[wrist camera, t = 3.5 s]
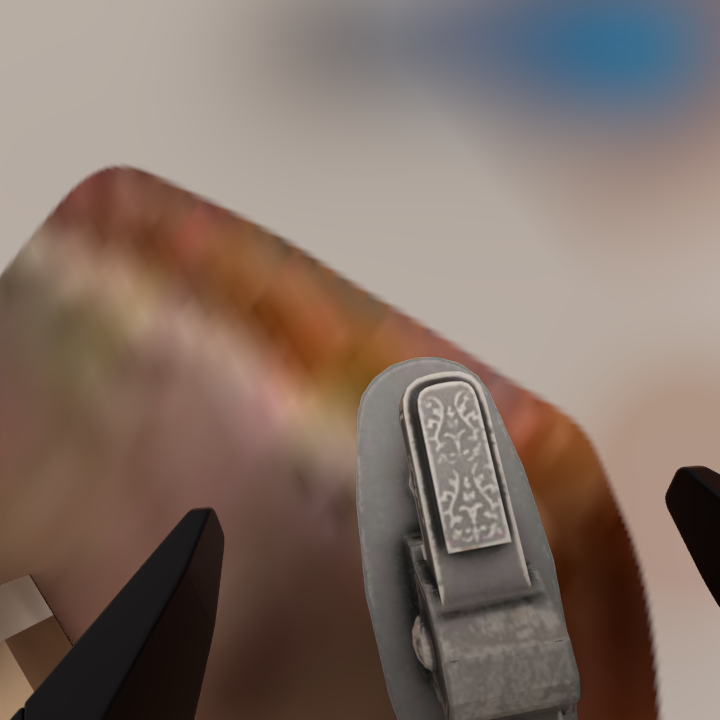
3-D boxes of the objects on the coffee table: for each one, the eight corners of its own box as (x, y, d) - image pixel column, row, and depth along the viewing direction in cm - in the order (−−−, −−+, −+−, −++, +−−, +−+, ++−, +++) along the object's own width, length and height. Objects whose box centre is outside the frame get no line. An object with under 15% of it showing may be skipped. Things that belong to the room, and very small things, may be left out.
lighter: (490, 636, 14) (769, 1043, 4) (388, 656, 14) (438, 1117, 4) (437, 394, 16) (552, 296, 6) (346, 411, 16) (313, 338, 6)
